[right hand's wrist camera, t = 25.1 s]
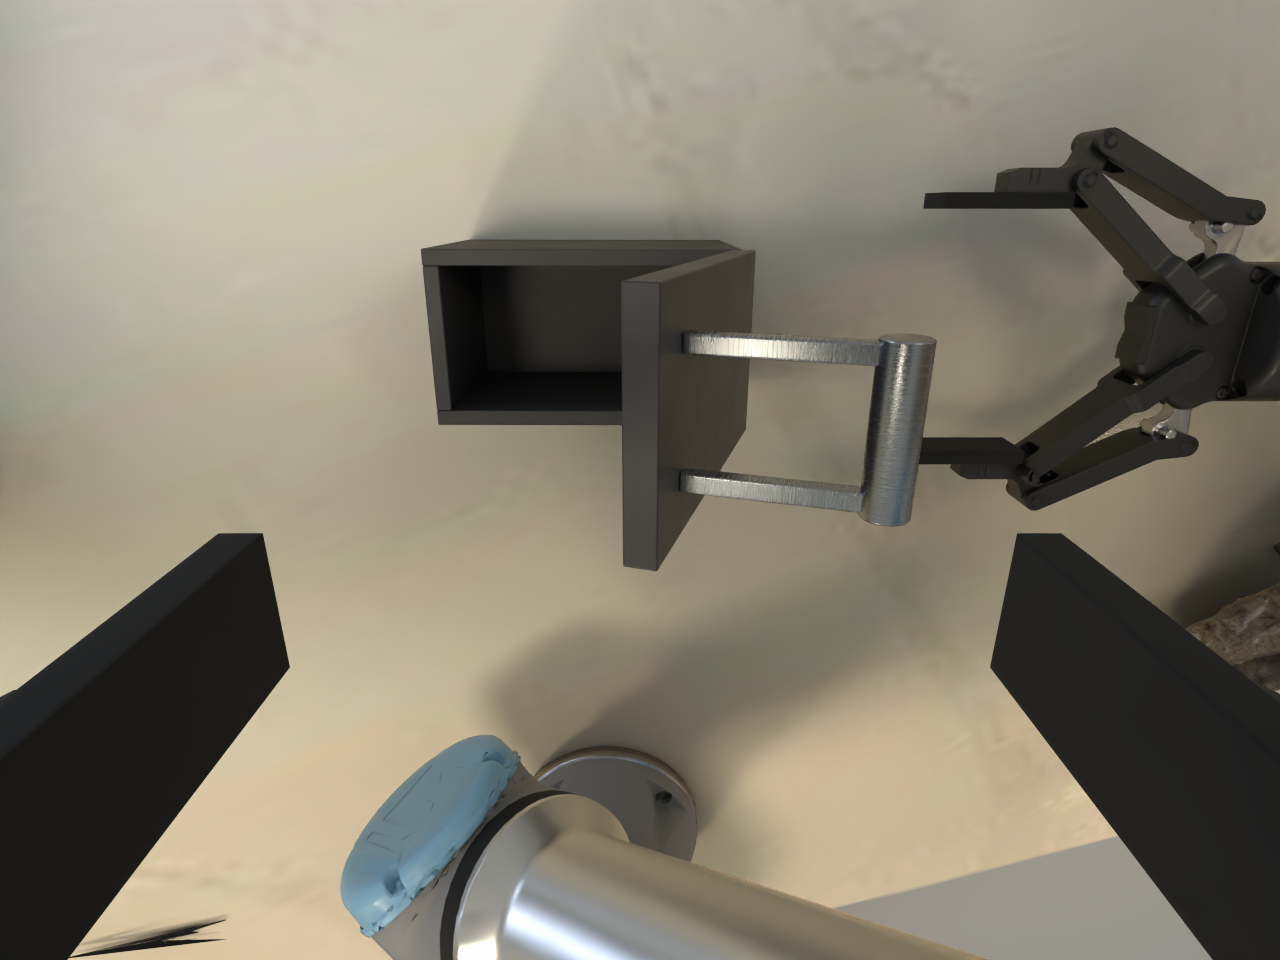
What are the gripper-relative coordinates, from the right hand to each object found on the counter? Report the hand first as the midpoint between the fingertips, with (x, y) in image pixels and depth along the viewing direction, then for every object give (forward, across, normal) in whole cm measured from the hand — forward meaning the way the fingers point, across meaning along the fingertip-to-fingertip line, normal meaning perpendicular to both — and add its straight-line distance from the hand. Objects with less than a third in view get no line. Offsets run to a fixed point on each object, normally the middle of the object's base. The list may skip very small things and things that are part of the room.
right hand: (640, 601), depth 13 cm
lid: (+18, -2, 0) cm, 18 cm away
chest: (+37, +3, 0) cm, 37 cm away
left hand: (+29, -15, 0) cm, 33 cm away
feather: (+37, +51, +59) cm, 86 cm away
